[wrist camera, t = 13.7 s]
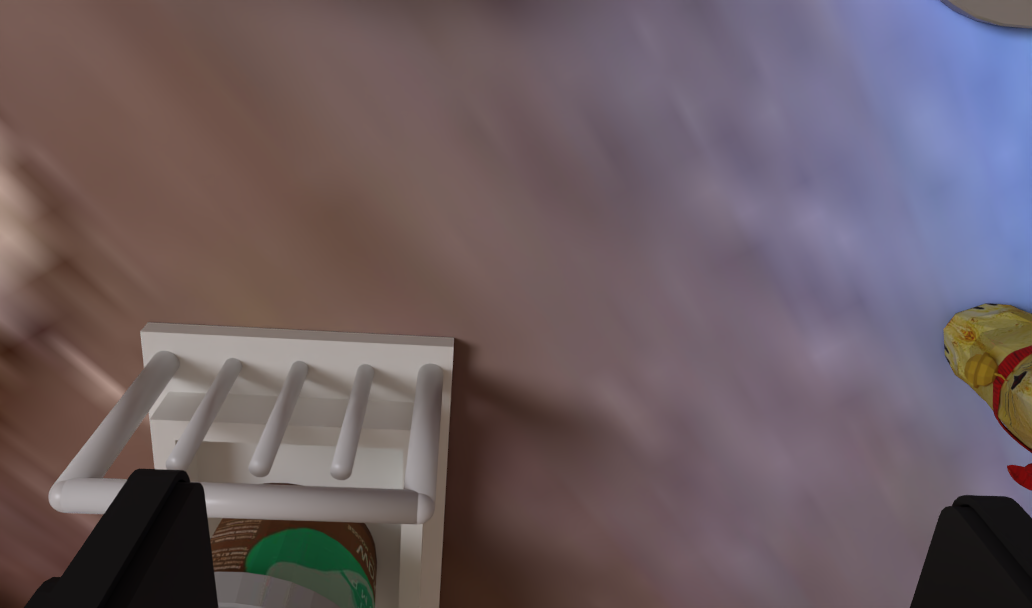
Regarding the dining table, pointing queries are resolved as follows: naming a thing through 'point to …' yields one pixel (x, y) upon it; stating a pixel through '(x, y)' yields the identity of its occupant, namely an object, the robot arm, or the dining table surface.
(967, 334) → the chocolate bunny
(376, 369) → the white dish rack
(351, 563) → the food container
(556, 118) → the dining table surface
